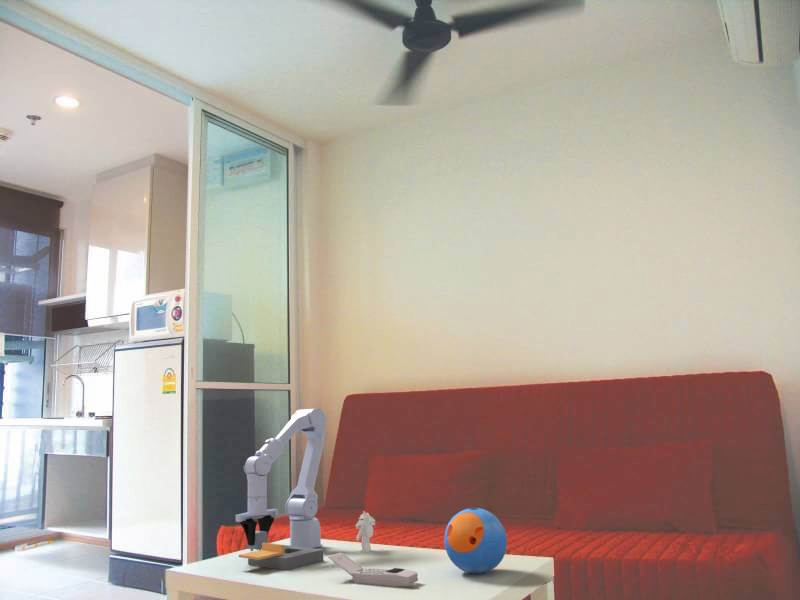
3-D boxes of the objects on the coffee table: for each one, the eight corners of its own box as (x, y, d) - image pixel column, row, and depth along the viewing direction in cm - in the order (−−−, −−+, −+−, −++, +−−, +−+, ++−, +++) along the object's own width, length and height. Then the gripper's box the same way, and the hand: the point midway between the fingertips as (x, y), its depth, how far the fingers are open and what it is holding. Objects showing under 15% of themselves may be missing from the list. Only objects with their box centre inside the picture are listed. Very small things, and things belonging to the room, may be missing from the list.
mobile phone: (340, 551, 163) (425, 557, 151) (340, 576, 162) (427, 584, 150) (325, 556, 158) (413, 562, 146) (326, 581, 157) (414, 590, 145)
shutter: (264, 551, 181) (264, 542, 182) (284, 554, 176) (284, 544, 177) (238, 557, 174) (238, 547, 175) (258, 559, 169) (258, 550, 170)
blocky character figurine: (363, 553, 189) (362, 511, 192) (352, 553, 191) (351, 511, 193) (378, 548, 197) (377, 507, 200) (367, 547, 199) (366, 507, 201)
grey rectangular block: (257, 548, 194) (257, 530, 195) (267, 550, 191) (267, 531, 192) (247, 551, 191) (247, 532, 192) (256, 552, 188) (256, 533, 189)
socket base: (285, 555, 191) (285, 545, 192) (323, 560, 182) (323, 549, 182) (247, 564, 181) (248, 553, 181) (285, 570, 171) (285, 558, 172)
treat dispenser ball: (518, 569, 161) (513, 505, 164) (492, 582, 148) (488, 513, 151) (463, 564, 169) (460, 504, 172) (434, 576, 156) (431, 511, 159)
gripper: (246, 499, 186) (246, 549, 183) (284, 494, 197) (284, 540, 194) (231, 499, 190) (230, 547, 188) (269, 493, 201) (269, 539, 199)
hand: (257, 543), depth 191 cm, fingers closed on grey rectangular block, 4 cm apart
